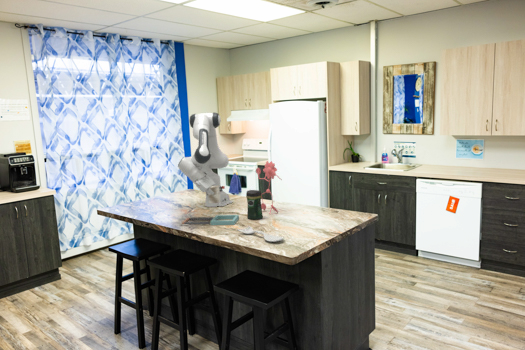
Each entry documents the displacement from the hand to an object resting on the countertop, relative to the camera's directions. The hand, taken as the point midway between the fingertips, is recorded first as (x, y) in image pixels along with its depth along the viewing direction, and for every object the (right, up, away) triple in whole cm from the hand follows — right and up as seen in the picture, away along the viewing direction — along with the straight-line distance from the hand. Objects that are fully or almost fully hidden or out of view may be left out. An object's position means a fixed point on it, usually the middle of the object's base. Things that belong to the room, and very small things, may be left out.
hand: (215, 193), depth 258 cm
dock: (+6, -18, +2) cm, 19 cm away
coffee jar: (+25, -17, +7) cm, 31 cm away
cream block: (0, -6, +1) cm, 6 cm away
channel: (-11, -19, +4) cm, 22 cm away
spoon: (+29, -23, -34) cm, 51 cm away
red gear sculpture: (+37, -14, +23) cm, 46 cm away
